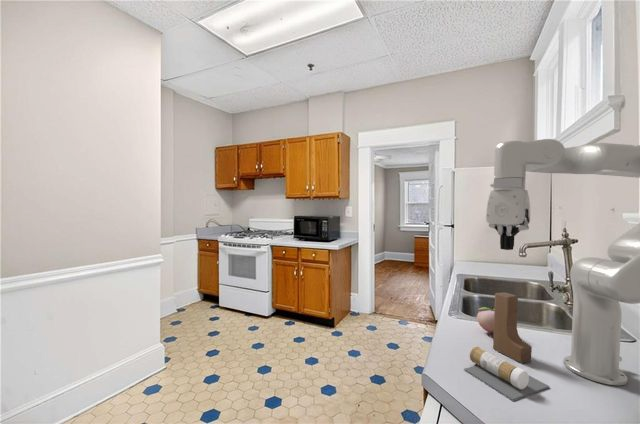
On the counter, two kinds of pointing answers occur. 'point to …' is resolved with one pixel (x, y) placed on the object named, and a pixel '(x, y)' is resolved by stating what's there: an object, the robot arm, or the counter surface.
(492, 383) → the mat
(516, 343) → the wooden block
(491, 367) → the sprinkles bottle
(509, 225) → the robot arm
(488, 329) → the decorative fruit
